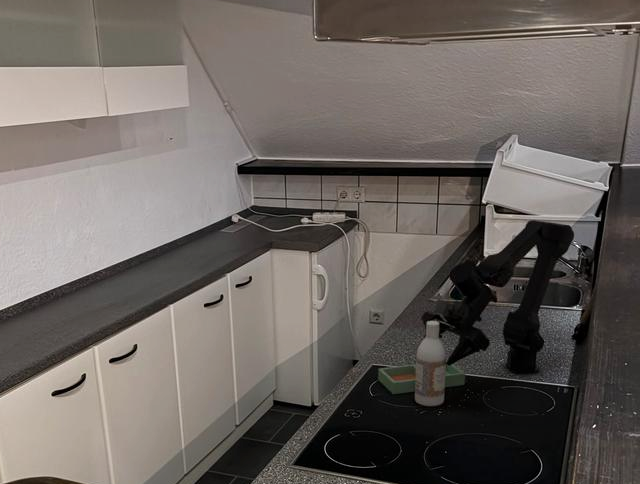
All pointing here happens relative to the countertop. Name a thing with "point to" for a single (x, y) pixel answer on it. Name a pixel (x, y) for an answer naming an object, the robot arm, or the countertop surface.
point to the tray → (414, 378)
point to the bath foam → (430, 368)
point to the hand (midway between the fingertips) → (434, 358)
